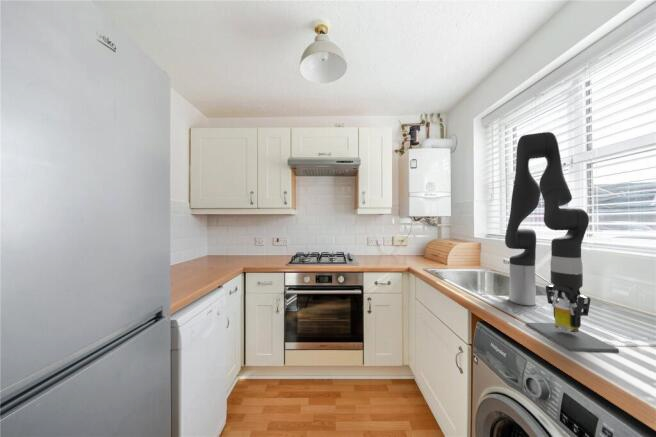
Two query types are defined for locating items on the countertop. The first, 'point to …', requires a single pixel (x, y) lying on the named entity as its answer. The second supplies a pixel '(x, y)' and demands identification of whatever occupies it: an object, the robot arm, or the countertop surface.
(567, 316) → the supplement bottle
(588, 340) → the mat
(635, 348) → the countertop surface
